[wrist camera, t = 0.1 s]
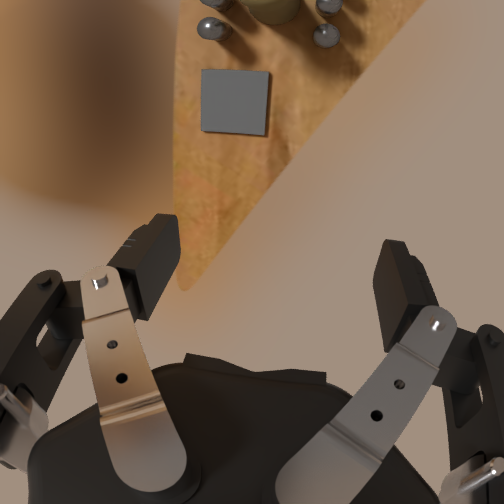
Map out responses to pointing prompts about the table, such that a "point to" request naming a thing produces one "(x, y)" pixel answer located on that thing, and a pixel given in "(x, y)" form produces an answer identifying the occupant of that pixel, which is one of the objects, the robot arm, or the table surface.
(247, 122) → the coaster
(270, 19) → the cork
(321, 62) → the table surface
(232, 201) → the table surface
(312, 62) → the table surface
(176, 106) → the table surface
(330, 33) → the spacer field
